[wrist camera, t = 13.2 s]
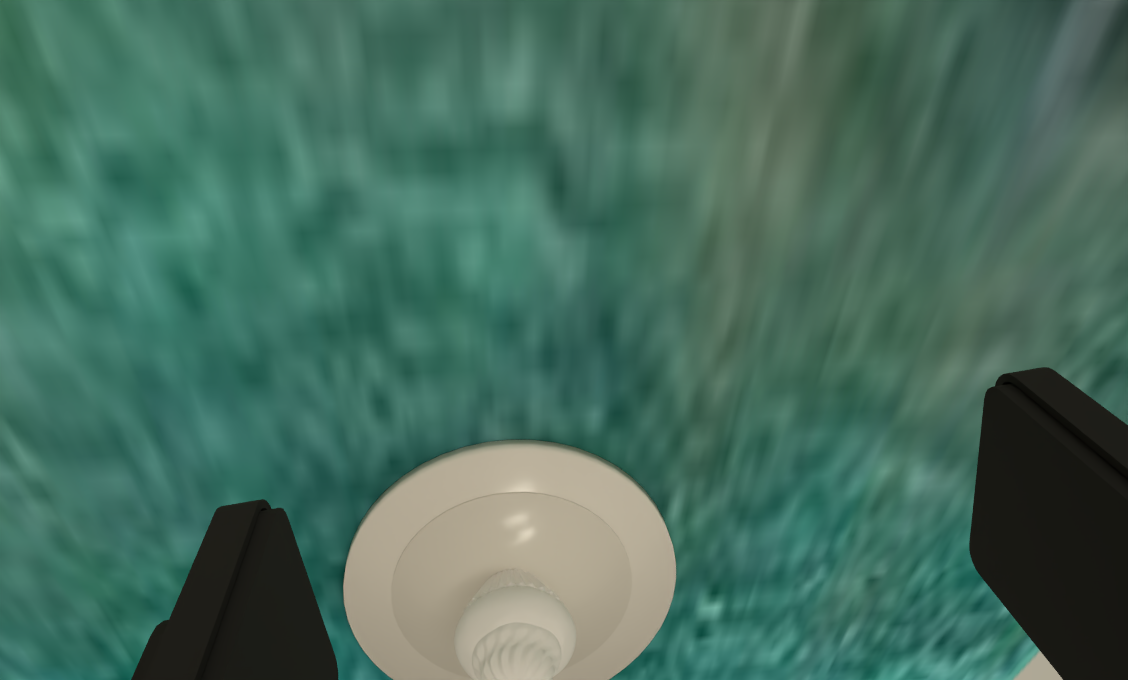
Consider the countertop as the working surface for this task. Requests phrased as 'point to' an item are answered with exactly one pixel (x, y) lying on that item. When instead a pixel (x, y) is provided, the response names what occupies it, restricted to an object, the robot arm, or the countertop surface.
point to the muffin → (514, 630)
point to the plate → (509, 555)
